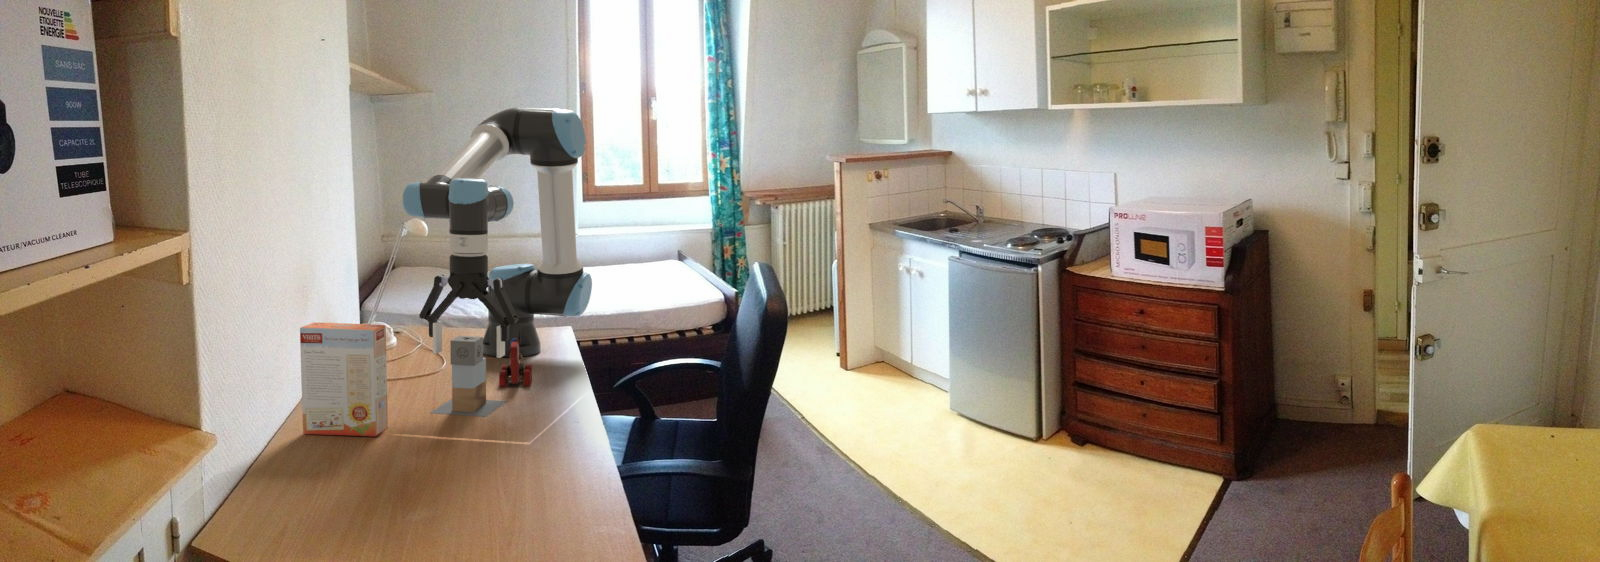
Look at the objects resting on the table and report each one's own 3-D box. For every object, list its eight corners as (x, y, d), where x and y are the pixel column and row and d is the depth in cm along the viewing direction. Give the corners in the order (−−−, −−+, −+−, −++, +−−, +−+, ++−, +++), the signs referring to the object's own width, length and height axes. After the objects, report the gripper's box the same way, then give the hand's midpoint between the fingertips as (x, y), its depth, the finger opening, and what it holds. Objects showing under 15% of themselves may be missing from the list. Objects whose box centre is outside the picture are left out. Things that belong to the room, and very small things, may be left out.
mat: (453, 399, 213) (453, 397, 213) (507, 403, 213) (507, 401, 212) (429, 414, 201) (429, 412, 201) (486, 418, 201) (486, 416, 201)
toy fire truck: (532, 377, 235) (532, 335, 234) (529, 390, 223) (530, 346, 222) (502, 377, 234) (502, 335, 232) (498, 391, 222) (498, 346, 220)
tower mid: (465, 379, 210) (465, 356, 209) (485, 380, 210) (485, 357, 209) (452, 387, 203) (451, 363, 202) (472, 388, 203) (472, 365, 202)
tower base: (466, 401, 211) (465, 379, 210) (486, 403, 210) (485, 380, 210) (452, 410, 204) (452, 387, 203) (472, 412, 203) (472, 388, 203)
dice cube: (482, 360, 207) (482, 336, 206) (474, 365, 202) (474, 341, 201) (459, 358, 207) (459, 335, 206) (450, 364, 202) (450, 340, 201)
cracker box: (389, 428, 191) (387, 323, 188) (375, 438, 185) (373, 329, 182) (317, 425, 191) (314, 320, 188) (301, 434, 185) (298, 326, 182)
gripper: (401, 252, 199) (403, 354, 202) (521, 259, 198) (521, 361, 201) (418, 248, 207) (419, 347, 210) (534, 254, 205) (533, 354, 208)
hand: (469, 354), depth 205 cm, fingers open, 13 cm apart
